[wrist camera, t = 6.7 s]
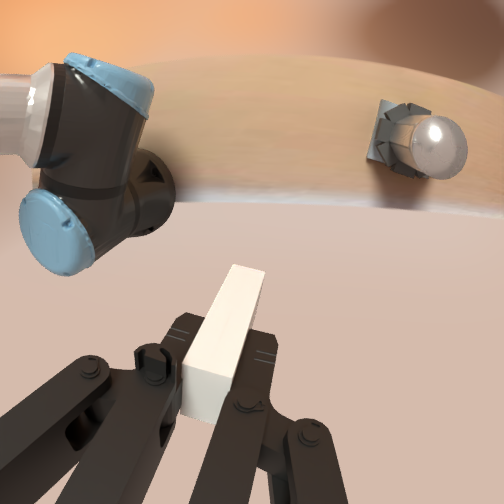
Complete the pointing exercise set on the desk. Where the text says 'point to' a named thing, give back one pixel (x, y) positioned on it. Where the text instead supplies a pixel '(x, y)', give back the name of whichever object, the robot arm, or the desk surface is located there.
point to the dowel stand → (372, 149)
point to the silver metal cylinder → (430, 145)
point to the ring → (385, 133)
